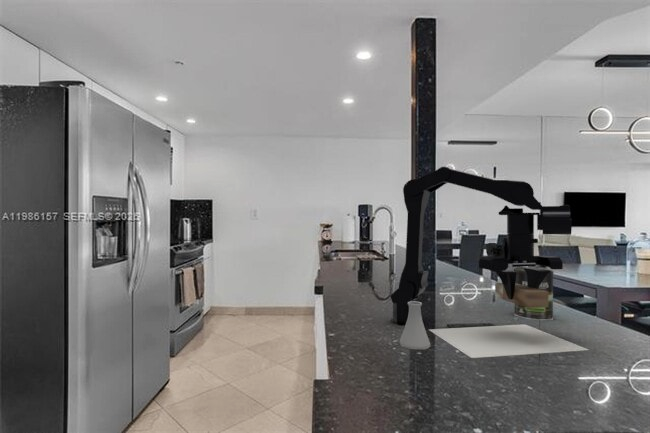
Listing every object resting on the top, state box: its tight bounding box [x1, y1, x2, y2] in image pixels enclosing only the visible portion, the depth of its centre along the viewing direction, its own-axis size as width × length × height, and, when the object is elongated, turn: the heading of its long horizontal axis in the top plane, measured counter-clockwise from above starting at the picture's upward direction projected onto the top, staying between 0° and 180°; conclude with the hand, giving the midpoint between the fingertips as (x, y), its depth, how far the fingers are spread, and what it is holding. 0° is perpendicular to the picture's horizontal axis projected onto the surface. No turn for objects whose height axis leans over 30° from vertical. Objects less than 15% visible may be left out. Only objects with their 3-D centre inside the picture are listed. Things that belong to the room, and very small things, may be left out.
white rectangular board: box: [428, 323, 589, 359], centre depth 88 cm, size 28×20×1 cm
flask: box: [399, 300, 432, 350], centre depth 85 cm, size 7×7×10 cm
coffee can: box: [513, 267, 554, 321], centre depth 110 cm, size 10×10×14 cm
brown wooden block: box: [494, 282, 548, 308], centre depth 89 cm, size 12×5×4 cm, turn 10°
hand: (520, 298), depth 89 cm, fingers closed on brown wooden block, 5 cm apart
